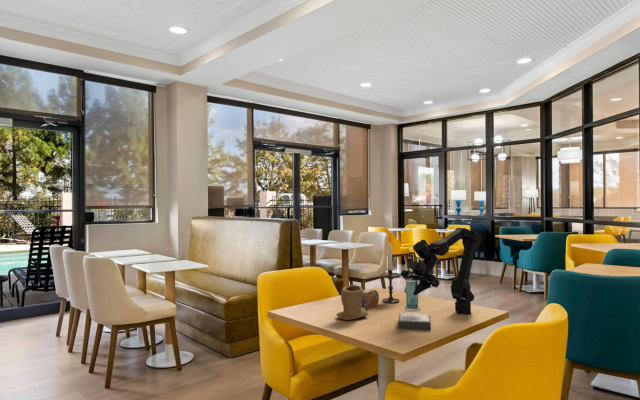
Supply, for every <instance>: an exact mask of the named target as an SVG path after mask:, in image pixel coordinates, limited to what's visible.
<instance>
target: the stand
mask: <svg viewBox="0 0 640 400" xmlns="http://www.w3.org/2000/svg"><path fill="white" fill-rule="evenodd" d="M398 315H399V316H398V329H399V330H401V329H402V330H419V331H431V330H432V327H431V326H432V325H431V323H432V322H431V317H430V314H429V313H418V312H417V313H415V312H400V313H398Z"/></svg>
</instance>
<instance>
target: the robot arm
mask: <svg viewBox="0 0 640 400" xmlns="http://www.w3.org/2000/svg"><path fill="white" fill-rule="evenodd" d="M482 239H483V237H482V235H481V233H479V232H476V231H473V230H470V229H468V228H466V227H456V228H455V229H454V231H452V232H450V233H449V234H447V235H446V236H445V237H443V238H442V239H438V240H434V241H433V242H430V243H429V244H428V243H427V241H426V239H420V241H418V242H416V243H415V244H413V246H412V250H413V251H414V252H415V254H416V255H417V256H418V257H419V259H421V260H419V261H415V260H408V263H407V266H406V267H407V269H411V271H412V272H411V271H410V270H406V269H402V270H401V272H400V273H399V274H401V277H402V278H403V280H405V279H409V278H413V279H418V281H419V282H418V286H417V288H416V290H415V292H414V295H417V294H418V295H419V294H421V293H422V292H424V291H425V290H426V291H427V290H428V289H431V288H437V289H438V287H439V285H440V281H439V279H438V278H437V277H436V275H435V274H434V271H433V270H434V268H435V266H436V265H441V264H442V263H441V260H440V258H439V257H438V256H440V257H444V256H446V254H447V253H448V252H449V249H450V247H452V246H453V245H454V244H456V243H457V242H458V241H460V240H461V243H462V246H463V252H462V257H461V261H460V266H459V269H458V274H457V277H456V278H455V279H452V280H451V285H450V292H451V296H452V299H453V300H454V299H455V302H454V310H455V311H454V312H456V314H458V315H459V314H460V315H472V310H471V309H472V308H471V307H472V305H471V304H472V302H474V300H475V295H474V293H473V292H472V291H471V287H472V286H471V283H470V280H469V279H470V273H471V270H472V264H473V261H474V256H475V252H476V251H477V249H479V247H480V245H481V242H482ZM422 259H423V260H422ZM404 293H405V294H406V286H405V288H404Z"/></svg>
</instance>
